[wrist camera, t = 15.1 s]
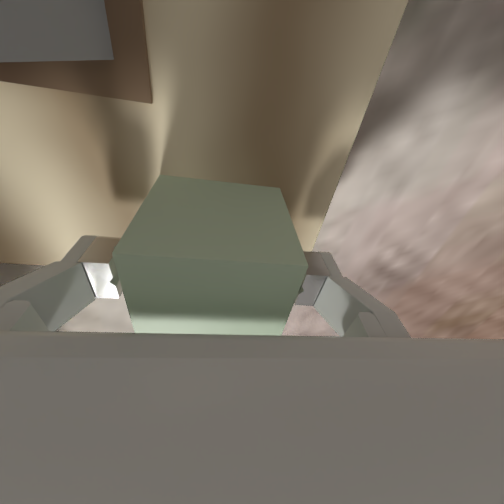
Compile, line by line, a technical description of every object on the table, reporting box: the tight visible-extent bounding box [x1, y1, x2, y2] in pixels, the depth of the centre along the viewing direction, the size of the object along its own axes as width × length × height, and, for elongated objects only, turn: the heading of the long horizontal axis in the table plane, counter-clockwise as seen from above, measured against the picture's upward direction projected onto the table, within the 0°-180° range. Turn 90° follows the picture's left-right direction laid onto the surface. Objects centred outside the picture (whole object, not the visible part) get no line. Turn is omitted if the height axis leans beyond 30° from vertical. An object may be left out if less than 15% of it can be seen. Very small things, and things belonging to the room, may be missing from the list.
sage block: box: [112, 175, 308, 335], centre depth 10 cm, size 5×5×5 cm
